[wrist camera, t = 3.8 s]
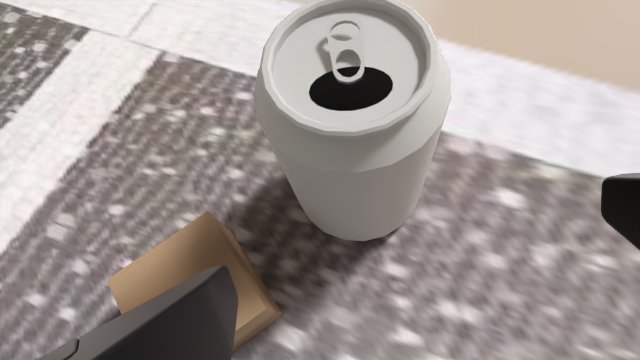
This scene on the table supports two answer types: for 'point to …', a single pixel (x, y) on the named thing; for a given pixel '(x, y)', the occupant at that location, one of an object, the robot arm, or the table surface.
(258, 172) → the table surface
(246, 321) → the tan block
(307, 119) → the can
